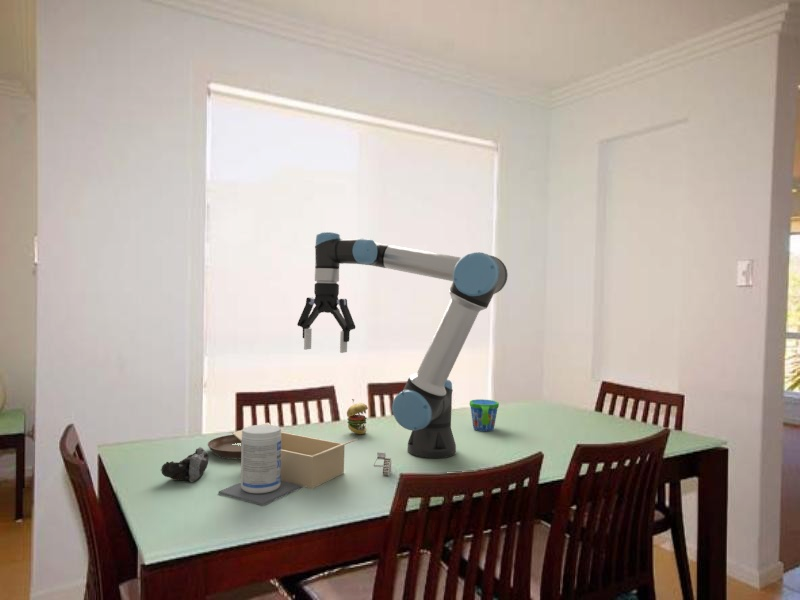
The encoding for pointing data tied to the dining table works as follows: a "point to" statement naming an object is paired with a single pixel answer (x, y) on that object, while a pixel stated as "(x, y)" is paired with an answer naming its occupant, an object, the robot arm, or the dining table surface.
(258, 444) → the supplement tub
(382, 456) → the staircase
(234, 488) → the mat
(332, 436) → the dining table surface
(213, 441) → the plant saucer
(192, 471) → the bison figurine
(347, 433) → the dining table surface
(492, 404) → the snack cup
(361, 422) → the hamburger
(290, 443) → the carton
